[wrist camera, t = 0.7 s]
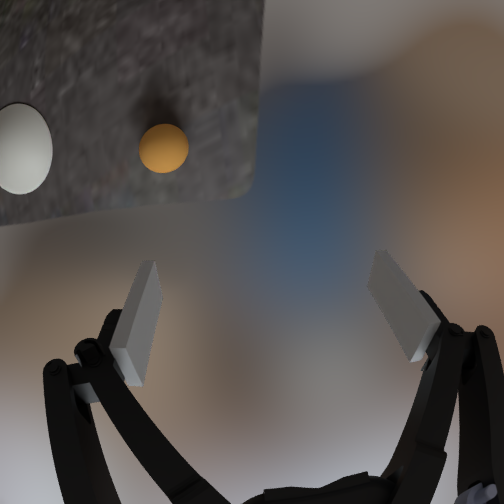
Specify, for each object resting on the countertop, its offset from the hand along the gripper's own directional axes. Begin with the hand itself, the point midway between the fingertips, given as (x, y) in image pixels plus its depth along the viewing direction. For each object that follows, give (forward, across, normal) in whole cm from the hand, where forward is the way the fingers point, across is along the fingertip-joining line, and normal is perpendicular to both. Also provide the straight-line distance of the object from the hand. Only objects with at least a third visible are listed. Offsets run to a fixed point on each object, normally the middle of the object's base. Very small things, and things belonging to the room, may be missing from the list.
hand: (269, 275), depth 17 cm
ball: (+18, -9, +4) cm, 21 cm away
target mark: (+19, -31, +8) cm, 37 cm away
